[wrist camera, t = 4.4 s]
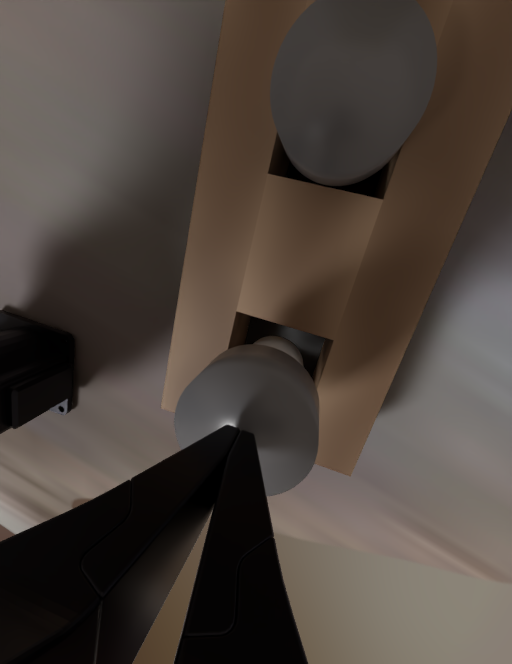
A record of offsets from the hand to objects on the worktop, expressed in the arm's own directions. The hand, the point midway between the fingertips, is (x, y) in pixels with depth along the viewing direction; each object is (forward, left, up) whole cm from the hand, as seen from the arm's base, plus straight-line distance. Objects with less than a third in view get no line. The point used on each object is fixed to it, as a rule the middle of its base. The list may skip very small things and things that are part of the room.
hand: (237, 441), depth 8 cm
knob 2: (0, +10, -9) cm, 13 cm away
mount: (0, +5, -9) cm, 11 cm away
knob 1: (0, 0, -6) cm, 6 cm away
